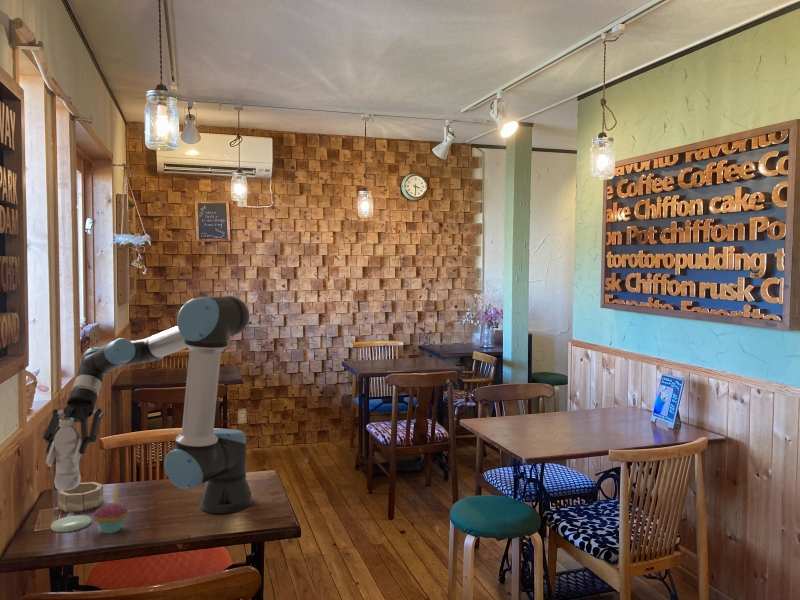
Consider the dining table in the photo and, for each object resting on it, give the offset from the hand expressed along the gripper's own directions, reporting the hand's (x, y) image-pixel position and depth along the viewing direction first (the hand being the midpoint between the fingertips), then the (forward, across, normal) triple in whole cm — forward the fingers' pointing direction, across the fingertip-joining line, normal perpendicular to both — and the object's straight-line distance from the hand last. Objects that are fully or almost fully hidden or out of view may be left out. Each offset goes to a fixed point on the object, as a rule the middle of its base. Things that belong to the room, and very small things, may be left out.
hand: (61, 463), depth 170 cm
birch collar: (0, +2, -26) cm, 27 cm away
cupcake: (+15, -14, -12) cm, 23 cm away
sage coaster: (+11, -1, -15) cm, 19 cm away
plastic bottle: (+4, 0, -9) cm, 9 cm away
